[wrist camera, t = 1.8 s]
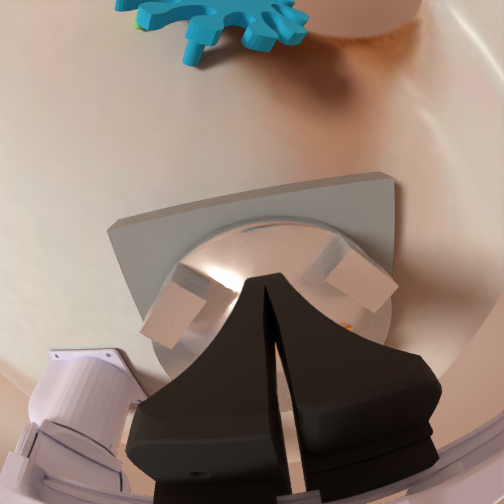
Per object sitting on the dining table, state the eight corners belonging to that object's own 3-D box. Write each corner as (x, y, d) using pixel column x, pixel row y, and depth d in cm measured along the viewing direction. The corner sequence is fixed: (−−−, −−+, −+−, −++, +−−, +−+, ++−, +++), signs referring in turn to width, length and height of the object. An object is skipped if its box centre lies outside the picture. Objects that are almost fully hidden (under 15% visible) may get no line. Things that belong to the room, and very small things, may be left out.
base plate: (191, 392, 26) (189, 409, 24) (118, 219, 18) (105, 231, 16) (371, 360, 25) (379, 376, 23) (380, 171, 18) (395, 178, 16)
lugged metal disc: (196, 403, 23) (192, 440, 20) (123, 243, 16) (97, 276, 13) (371, 373, 23) (385, 406, 19) (383, 196, 16) (418, 217, 12)
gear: (336, 12, 12) (261, 51, 7) (291, 73, 17) (210, 153, 13) (191, -52, 10) (62, -23, 6) (170, 9, 15) (62, 62, 11)
